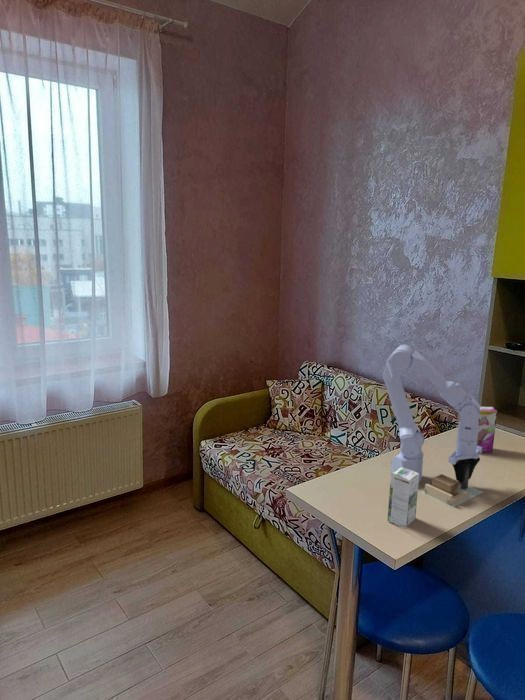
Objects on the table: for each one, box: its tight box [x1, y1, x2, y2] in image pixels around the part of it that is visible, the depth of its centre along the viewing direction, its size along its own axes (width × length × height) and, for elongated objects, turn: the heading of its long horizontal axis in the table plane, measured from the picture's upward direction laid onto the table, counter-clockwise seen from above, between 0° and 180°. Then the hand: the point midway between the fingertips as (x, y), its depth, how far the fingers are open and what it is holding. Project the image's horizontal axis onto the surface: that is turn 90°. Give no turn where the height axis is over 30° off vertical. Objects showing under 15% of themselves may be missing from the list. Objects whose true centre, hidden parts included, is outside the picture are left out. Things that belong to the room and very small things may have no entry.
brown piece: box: [431, 468, 470, 497], centre depth 149 cm, size 13×6×6 cm, turn 125°
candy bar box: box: [477, 406, 498, 453], centre depth 180 cm, size 11×5×16 cm, turn 84°
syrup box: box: [387, 467, 420, 529], centre depth 133 cm, size 6×6×14 cm
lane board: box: [420, 478, 484, 509], centre depth 149 cm, size 16×11×4 cm
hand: (463, 479), depth 152 cm, fingers closed on brown piece, 3 cm apart
